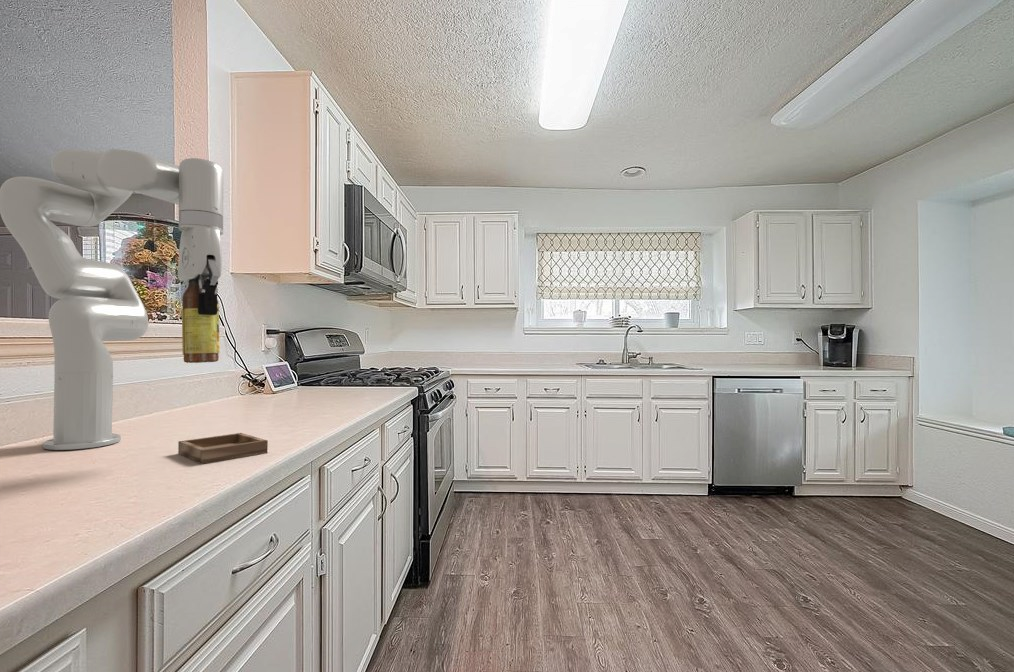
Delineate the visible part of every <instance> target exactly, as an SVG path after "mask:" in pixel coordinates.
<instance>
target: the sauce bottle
mask: <svg viewBox="0 0 1014 672" xmlns="http://www.w3.org/2000/svg"><path fill="white" fill-rule="evenodd" d="M206 267H207V266H206ZM204 285H205V282H204ZM185 290H186V289H185ZM185 290H184V292H183V294H182V299H181V300H182V303H181V304H182V310H181V331H182V333H181V334H182V335H181V337H182V338H181V340H182V344H181V345H182V355H183V362H184V363H186V364H188V363H190V364H193V363H194V364H201V363H215V362H218V361H219V356H220V355H219V354H220V306H219V305H220V304H219V303H220V302H219V300H218V299H217V314H216V315H200V314H198V293H200V288H199V281H198V276H197V277H196V278H195V279H191V280H189V287H188V288H187V290H186V291H185ZM200 294H203V293H200Z"/></svg>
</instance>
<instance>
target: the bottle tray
mask: <svg viewBox="0 0 1014 672" xmlns="http://www.w3.org/2000/svg"><path fill="white" fill-rule="evenodd" d="M177 449H178V452H177V454H178V455H180V456H183V457H185V458H187V459H189V460H191V461H194V462H196V463H199V464H202V465H205V464H210V463H211V464H212V463H216V462H217V463H218V462H222V461H223V462H224V461H229V460H235V459H241V458H245V457H251V456H257V455H263V454H267V453H268V440H267V439H263V438H260V437H257V436H253V435H250V434H246V433H242V432H238V433H230V434H223V435H221V434H220V435H216V436H209V437H199V438H192V439H186V440H178V448H177Z"/></svg>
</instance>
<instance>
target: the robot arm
mask: <svg viewBox="0 0 1014 672" xmlns="http://www.w3.org/2000/svg"><path fill="white" fill-rule="evenodd" d="M50 164H51V165H50V166H51V170H52V172H53V174H54V175H55V177H56V178H58V180H60V181H61V182H62V183H59V182H56V181H51V180H47V179H45V178H44V179H43V178H40V177H39V178H38V177H33V176H14V177H13V176H12V177H11V178H8V179H6V180H5V181H4V182H3V183H2V184H1V186H0V217H1V219H2V221H3V223H4V226H5V227H6V228H7V230H8V232H10V234H11V235H12V237H13V238H14V239H15V241H16V242H17V243H18V245H19V246H20V247H21V249H22V250H23V252H24V254H25V257H26V259H27V260H28V263H29V264H30V267H31V269H32V272H34V276H35V277H36V278H37V281H38V283H39V285H40V286H41V288H42V289H43V292H45V293H46V294H47V295H48V296H50V297H51V298H53V299H54V298H55V299H58V300H57V301H56V302H54V303H53V304H52V306H50V309H49V310H48V311H49V312H48V324H49V328H50V329H49V330H50V333H51V338H52V343H53V353H54V354H53V355H54V360H53V361H54V365H53V366H54V370H53V371H54V377H53V378H54V383H53V386H54V387H53V435H52V436H53V438H50V439H47V440H45V441H44V442H42V448H43V449H46V450H50V451H67V450H69V451H70V450H72V451H74V450H83V449H92V448H99V447H103V446H108V445H114V444H116V443H119V442H120V441H121V437H122V435H120V434H118V433H113V390H114V389H113V387H114V384H113V383H114V364H113V363H114V362H113V357H112V355H111V353H110V351H109V350H108V348H107V347H106V345H105V344H104V342H125V341H126V342H129V341H135V340H137V339H140V338H142V337H143V336H144V335H145V334H146V333H147V331H148V329H149V328H148V327H149V315H148V313H147V310H146V308H145V306H144V303H143V302H142V300H141V298H140V296H139V294H138V292H137V290H136V288H135V286H134V285H133V283H132V280H131V279H130V278H129V276H128V274H127V273H126V272H125V271H124V269H122V268H121V267H119V266H118V265H116V264H114V263H111V262H106V261H101V260H94V259H89V258H86V257H84V256H82V254H80V252H79V251H78V249H77V248H76V245H75V243H74V242H73V240H72V238H70V236H69V235H68V234H67V233H66V232H65V231H63V229H61V228H60V227H59V226H57V225H56V224H54V223H53V221H54V222H56V223H57V222H59V223H63V224H67V225H73V226H78V227H85V228H86V227H87V228H88V227H89V228H90V227H94V226H98V225H100V223H102V222H103V221H104V220H106V219H107V218H108V217H109V216H110V215H112V214H113V212H115V211H116V210H117V209H118V208H119V207H120V206H122V205H123V204H124V203H125V202H126V201H127V200H129V198H130V197H131V195H133V193H136V194H141V195H144V196H148V197H152V198H155V199H158V200H160V201H161V200H162V201H165V202H166V203H167V202H168V203H170V204H171V203H172V204H174V205H178V231H180V232H181V234H180V240H179V247H178V248H179V250H178V265H177V278H178V280H179V281H180V282H184V284H185V285H184V288H185V290H184V292H185V291H186V290H187V288H188V287H189V280H191V279H195V278H196V277H197V276H198V281H199V288H200V293H203V294H200V293H198V314H200V315H216V314H217V300H218V293H219V292H218V291H219V290H218V285H219V279H220V278H221V276H222V269H223V268H222V267H223V265H222V262H223V260H222V243H221V242H222V241H221V236H222V235H224V171H223V169H222V167H221V166H220V165H219V164H218V163H216V162H213V161H211V160H208V159H204V158H198V157H197V158H195V157H194V158H193V157H191V158H185V159H182V160H181V161H180V163H179V164H178V165H177V164H174V163H171V162H168V161H166V160H163V159H161V158H158V157H155V156H153V155H150V154H146V153H143V152H138V151H134V150H126V149H121V148H120V149H119V148H109V149H108V150H106V151H105V152H104V151H98V150H93V149H92V150H90V149H84V148H76V147H75V148H65V149H64V148H63V149H62V150H60V151H57V152H56V153H55V154H54V155H53V156H52V158H51V163H50ZM206 266H207V267H206ZM204 282H205V285H204Z"/></svg>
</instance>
